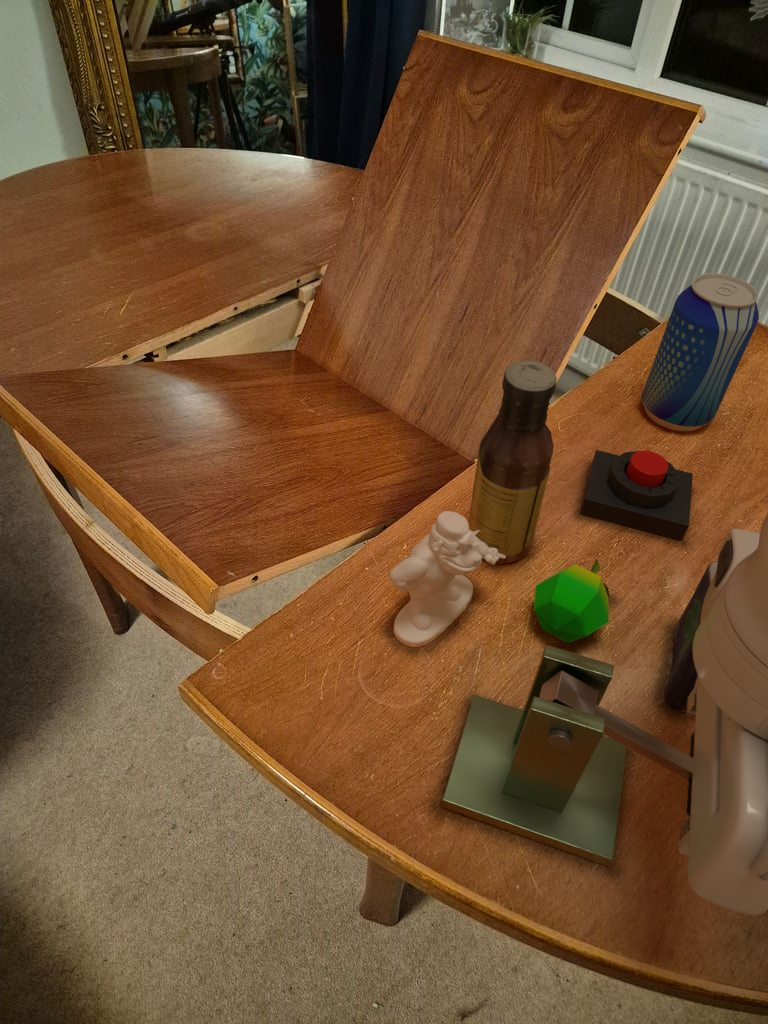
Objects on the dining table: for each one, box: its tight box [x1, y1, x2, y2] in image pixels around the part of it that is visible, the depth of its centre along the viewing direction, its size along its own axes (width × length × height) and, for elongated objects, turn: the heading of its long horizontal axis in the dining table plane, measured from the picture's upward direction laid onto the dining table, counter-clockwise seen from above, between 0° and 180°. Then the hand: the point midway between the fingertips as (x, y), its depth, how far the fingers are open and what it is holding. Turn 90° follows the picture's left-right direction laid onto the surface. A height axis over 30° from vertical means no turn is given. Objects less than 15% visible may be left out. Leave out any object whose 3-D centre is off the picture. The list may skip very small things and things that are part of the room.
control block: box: [580, 449, 694, 542], centre depth 75 cm, size 10×8×4 cm
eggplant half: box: [661, 560, 718, 713], centre depth 59 cm, size 9×3×11 cm, turn 157°
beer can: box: [641, 272, 760, 433], centre depth 81 cm, size 8×8×16 cm
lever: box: [539, 670, 695, 817], centre depth 47 cm, size 12×6×2 cm, turn 71°
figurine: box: [389, 510, 506, 648], centre depth 61 cm, size 9×7×12 cm
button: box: [626, 450, 668, 488], centre depth 73 cm, size 4×4×2 cm
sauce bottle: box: [468, 360, 557, 565], centre depth 64 cm, size 6×6×20 cm
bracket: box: [440, 644, 628, 867], centre depth 50 cm, size 12×9×13 cm
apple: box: [533, 559, 611, 644], centre depth 64 cm, size 7×6×9 cm
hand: (695, 775), depth 48 cm, fingers open, 8 cm apart
